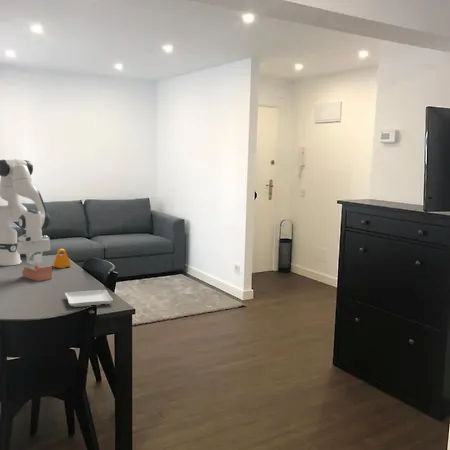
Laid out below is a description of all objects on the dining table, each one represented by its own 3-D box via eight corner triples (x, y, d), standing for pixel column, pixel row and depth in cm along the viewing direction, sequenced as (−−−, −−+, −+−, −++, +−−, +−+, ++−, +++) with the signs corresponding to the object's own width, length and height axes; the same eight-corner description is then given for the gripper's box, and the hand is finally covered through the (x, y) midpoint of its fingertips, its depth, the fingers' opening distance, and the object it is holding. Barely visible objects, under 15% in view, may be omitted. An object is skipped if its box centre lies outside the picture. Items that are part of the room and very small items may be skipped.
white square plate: (69, 309, 238) (69, 302, 238) (64, 298, 258) (64, 291, 257) (113, 306, 247) (113, 299, 246) (105, 295, 266) (105, 289, 266)
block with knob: (26, 263, 299) (26, 252, 298) (34, 261, 303) (34, 251, 302) (34, 264, 294) (34, 254, 293) (42, 263, 298) (41, 253, 297)
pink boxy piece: (22, 276, 299) (22, 264, 298) (36, 274, 306) (36, 262, 305) (38, 281, 289) (38, 268, 288) (51, 278, 297) (51, 266, 296)
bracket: (69, 265, 336) (69, 247, 335) (70, 267, 330) (70, 249, 328) (52, 265, 332) (52, 248, 331) (53, 268, 326) (53, 250, 324)
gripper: (46, 234, 307) (46, 257, 308) (15, 237, 290) (15, 261, 292) (52, 235, 303) (52, 258, 305) (21, 239, 287) (21, 262, 288)
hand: (34, 259), depth 298 cm, fingers closed on block with knob, 5 cm apart
